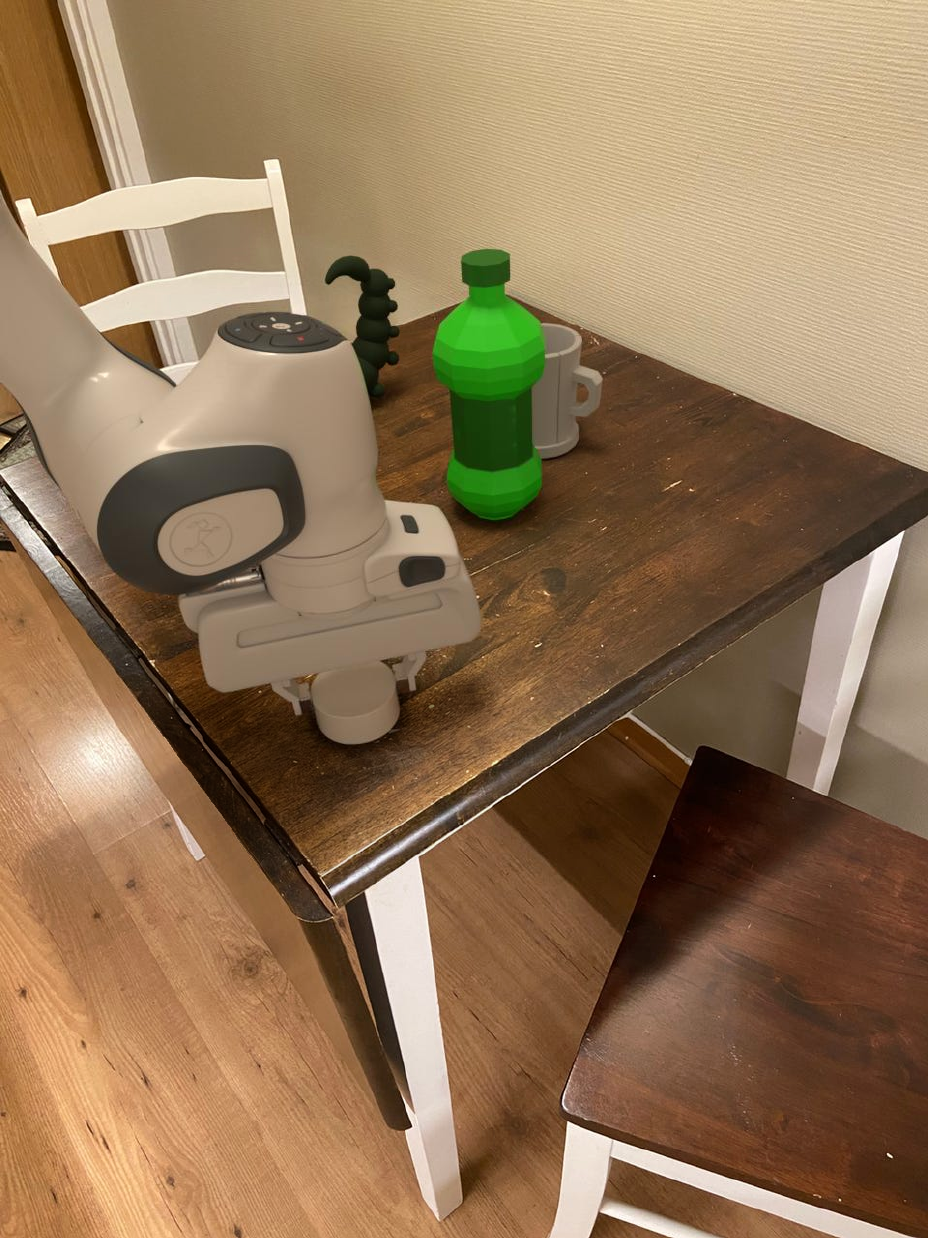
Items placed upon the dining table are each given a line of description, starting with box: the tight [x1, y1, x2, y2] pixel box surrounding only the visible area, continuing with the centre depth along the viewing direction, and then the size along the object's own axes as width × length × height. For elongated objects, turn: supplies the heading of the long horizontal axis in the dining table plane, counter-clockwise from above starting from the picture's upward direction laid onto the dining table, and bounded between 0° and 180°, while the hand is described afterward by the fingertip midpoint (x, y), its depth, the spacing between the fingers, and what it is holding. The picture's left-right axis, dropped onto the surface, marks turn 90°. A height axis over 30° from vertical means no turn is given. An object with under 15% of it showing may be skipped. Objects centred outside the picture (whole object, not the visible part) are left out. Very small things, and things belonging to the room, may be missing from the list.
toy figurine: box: [324, 255, 401, 400], centre depth 101 cm, size 9×19×25 cm
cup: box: [532, 322, 604, 460], centre depth 96 cm, size 10×9×12 cm
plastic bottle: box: [431, 248, 545, 521], centre depth 83 cm, size 10×10×25 cm
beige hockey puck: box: [310, 660, 401, 745], centre depth 69 cm, size 7×7×3 cm
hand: (356, 697), depth 68 cm, fingers closed on beige hockey puck, 6 cm apart
